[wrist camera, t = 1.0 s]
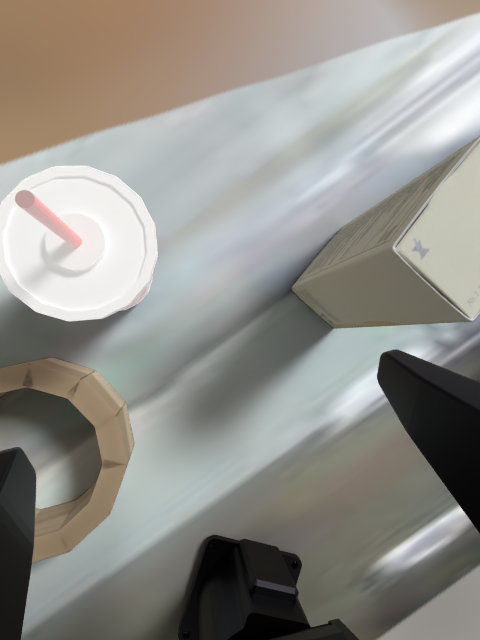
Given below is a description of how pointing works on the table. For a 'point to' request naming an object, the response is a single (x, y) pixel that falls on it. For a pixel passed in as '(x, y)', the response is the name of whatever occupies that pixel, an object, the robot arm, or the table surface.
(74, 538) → the holder ring
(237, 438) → the table surface
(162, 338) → the table surface
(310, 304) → the skincare box
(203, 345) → the table surface
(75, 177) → the beverage cup
